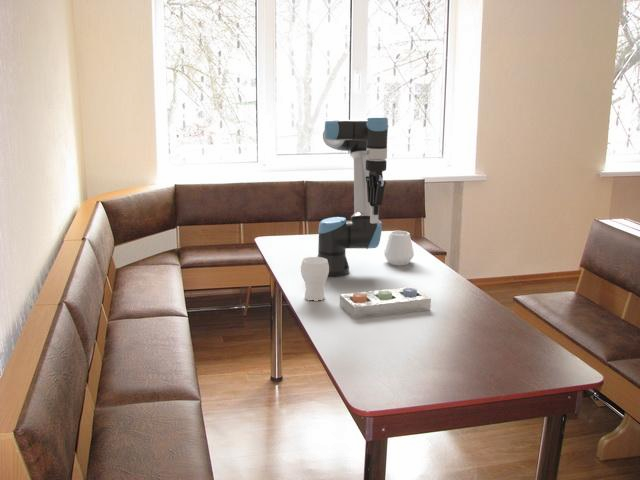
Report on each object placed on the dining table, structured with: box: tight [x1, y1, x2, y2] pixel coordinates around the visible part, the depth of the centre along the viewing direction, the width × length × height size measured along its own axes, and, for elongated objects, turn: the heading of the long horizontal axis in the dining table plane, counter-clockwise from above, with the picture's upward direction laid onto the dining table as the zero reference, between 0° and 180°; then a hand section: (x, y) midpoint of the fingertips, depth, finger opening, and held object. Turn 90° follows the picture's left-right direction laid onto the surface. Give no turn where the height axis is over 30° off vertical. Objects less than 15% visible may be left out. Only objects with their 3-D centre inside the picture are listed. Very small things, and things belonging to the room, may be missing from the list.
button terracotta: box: [353, 292, 367, 303], centre depth 240 cm, size 5×5×5 cm
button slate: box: [403, 287, 418, 297], centre depth 246 cm, size 5×5×5 cm
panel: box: [339, 286, 432, 320], centre depth 243 cm, size 14×30×4 cm, turn 109°
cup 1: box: [300, 256, 329, 302], centre depth 251 cm, size 11×11×15 cm
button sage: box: [378, 291, 392, 300], centre depth 243 cm, size 5×5×5 cm
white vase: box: [383, 230, 415, 266], centre depth 300 cm, size 13×13×14 cm
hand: (374, 222), depth 247 cm, fingers closed
